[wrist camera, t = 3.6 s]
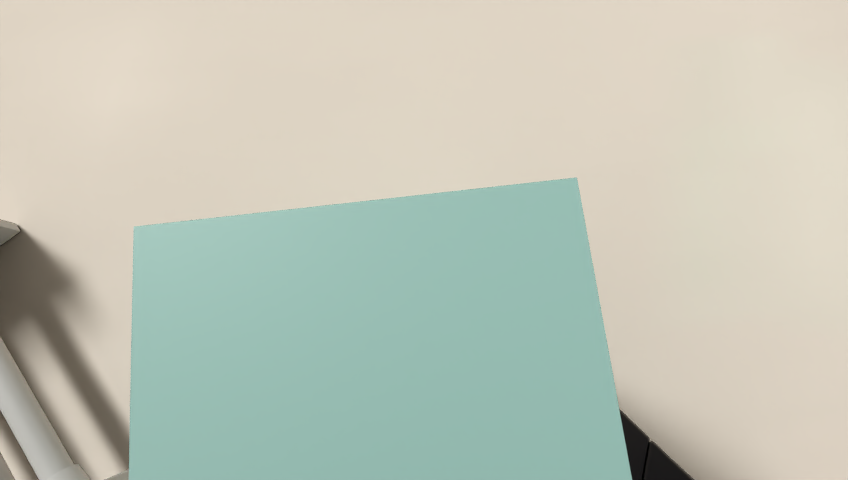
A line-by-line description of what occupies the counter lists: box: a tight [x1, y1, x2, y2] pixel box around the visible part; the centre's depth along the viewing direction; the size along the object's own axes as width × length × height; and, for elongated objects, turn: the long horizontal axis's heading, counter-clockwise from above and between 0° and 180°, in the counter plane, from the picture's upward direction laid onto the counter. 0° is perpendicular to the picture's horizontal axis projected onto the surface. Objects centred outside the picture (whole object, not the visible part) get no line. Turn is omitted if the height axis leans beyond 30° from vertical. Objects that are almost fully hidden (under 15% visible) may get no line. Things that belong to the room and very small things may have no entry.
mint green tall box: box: [129, 178, 632, 480], centre depth 9 cm, size 6×4×12 cm, turn 6°
